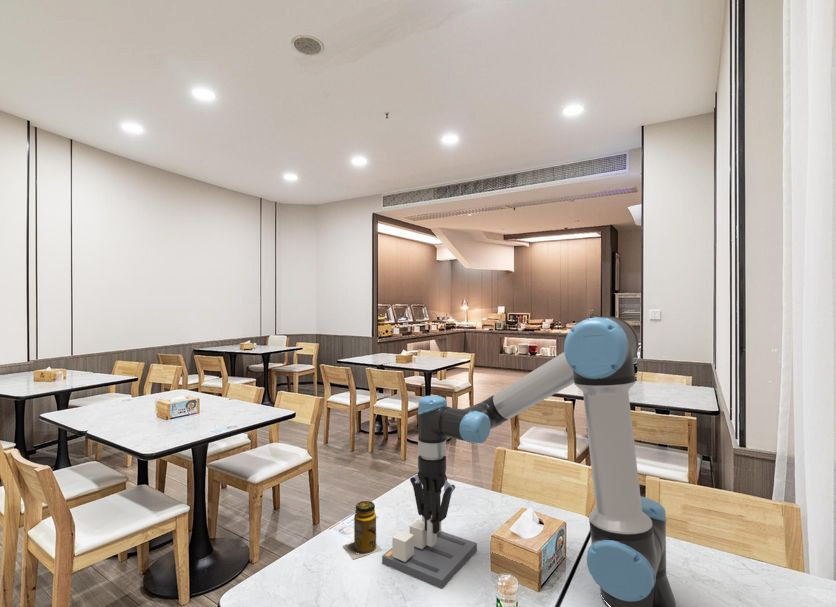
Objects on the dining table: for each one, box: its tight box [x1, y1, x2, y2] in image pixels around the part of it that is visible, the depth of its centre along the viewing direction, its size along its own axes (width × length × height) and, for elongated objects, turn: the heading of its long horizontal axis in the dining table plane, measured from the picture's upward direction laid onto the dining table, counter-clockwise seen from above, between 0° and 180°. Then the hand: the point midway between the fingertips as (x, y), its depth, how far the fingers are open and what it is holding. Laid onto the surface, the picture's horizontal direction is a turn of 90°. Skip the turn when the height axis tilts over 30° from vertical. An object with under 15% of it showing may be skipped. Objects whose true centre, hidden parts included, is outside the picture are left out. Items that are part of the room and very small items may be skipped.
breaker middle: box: [409, 519, 427, 549], centre depth 115 cm, size 4×4×5 cm
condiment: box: [342, 500, 382, 560], centre depth 117 cm, size 7×8×12 cm
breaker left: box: [391, 530, 414, 562], centre depth 110 cm, size 4×4×5 cm
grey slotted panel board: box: [381, 530, 478, 590], centre depth 113 cm, size 18×19×2 cm
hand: (432, 543), depth 113 cm, fingers closed
